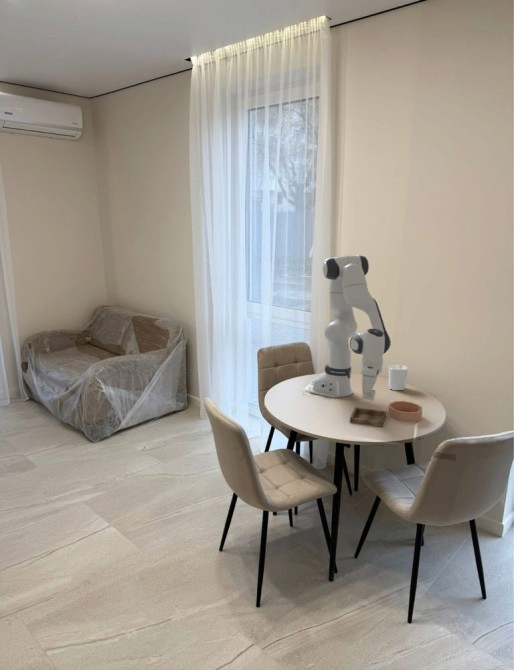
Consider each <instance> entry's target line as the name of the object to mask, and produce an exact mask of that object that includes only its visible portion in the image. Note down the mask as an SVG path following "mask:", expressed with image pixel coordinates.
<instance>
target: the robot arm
mask: <svg viewBox="0 0 514 670" xmlns="http://www.w3.org/2000/svg"><path fill="white" fill-rule="evenodd" d="M369 265H370V264H369V261H368V258H367V257H366V256H364V255H359V254H358V255H344V256H337V257H336V256H335V257H333V256H332V257H327V258H326V259H325V260H324V261H323V264H322V272H323V276H324V277H325V278H326V279H327V280H329V308H330V310H331V312H332V316H333V321H331V322H329V323H328V324H327V326H326V327H325V329H324V337H325V339H326V340H327V344H328V351H329V352H328V354H329V356H328V363H326V364H325V366H324V372H322V373H320V374H319V375H317V376H316V377H315V378H314V379H313V382H312V383H313V384H312V385H313V388H312V390H309V389H311V388H310V386H309V387H308V390H309V391H308V392H309V393H310V394H315V395H318V396H319V395H320V396H324V397H329V398H334V399H336V398H342V397H348V396H351V395H352V393H353V390H352V386H351V376H352V366H351V365H352V364H351V360H352V359H351V358H352V353H354V354H358V355H361V356H362V358H361V368H360V369H361V370H360V371H361V372H360V374H361V376H362V377H361V378H362V379H361V391H362V393H363V392H364V393H366V397H365V398H366V399H369V398H370V393H371V391H372V390H374V386H375V384H376V382H377V379H378V376H379V374H380V373H382V371H383V364H384V359H383V355H384V354H385V353H387V352H388V351H389V349H390V347H391V338H390V336H389V334H388V332H387V329H386V326H385V323H384V320H383V317H382V313H381V310H380V308H379V305H378V302H377V300H376V298H374V297H373V296H372V295H371V294H370V291H369V288H368V284H367V279H366V275H367V274H368V272H369V269H370V267H369ZM353 308H356V309H358V310H360V311H362V312H364V313H365V314H366V315H367V316H368V318H369V321H370V324H371V325H370V326H371V328H368V329H366V331H363V332H357V330H358V324H357V321H356V320H355V313H354V310H353ZM351 351H352V352H351ZM366 399H365V400H366Z"/></svg>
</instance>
